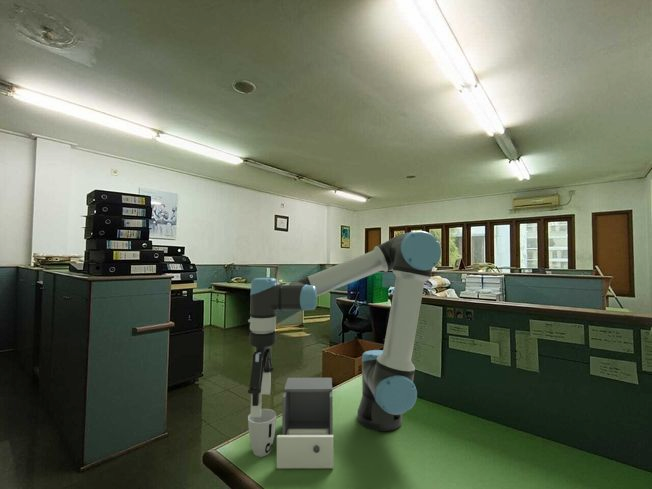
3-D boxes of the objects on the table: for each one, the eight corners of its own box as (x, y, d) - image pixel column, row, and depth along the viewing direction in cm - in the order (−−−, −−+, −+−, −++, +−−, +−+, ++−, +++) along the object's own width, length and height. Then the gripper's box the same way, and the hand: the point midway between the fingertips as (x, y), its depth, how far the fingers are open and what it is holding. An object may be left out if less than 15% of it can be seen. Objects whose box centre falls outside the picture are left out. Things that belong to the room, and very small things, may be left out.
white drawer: (283, 437, 95) (284, 410, 95) (332, 437, 95) (332, 410, 95) (276, 469, 80) (276, 438, 80) (333, 469, 80) (333, 438, 81)
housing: (287, 422, 104) (287, 377, 104) (331, 422, 104) (331, 377, 104) (281, 447, 90) (281, 395, 91) (332, 447, 90) (332, 395, 91)
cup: (270, 461, 84) (270, 424, 84) (242, 458, 86) (242, 421, 86) (280, 444, 92) (280, 410, 92) (255, 441, 94) (255, 407, 94)
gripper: (259, 321, 103) (257, 386, 102) (237, 342, 78) (235, 427, 77) (281, 321, 103) (280, 386, 102) (267, 342, 78) (265, 428, 77)
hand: (261, 404), depth 89 cm, fingers open, 13 cm apart
